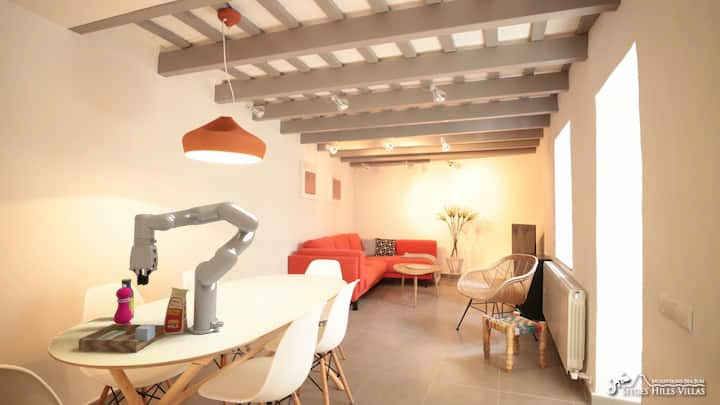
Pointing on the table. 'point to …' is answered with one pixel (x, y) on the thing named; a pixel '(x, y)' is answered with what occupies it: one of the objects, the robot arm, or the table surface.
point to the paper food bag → (176, 313)
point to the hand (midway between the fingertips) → (142, 284)
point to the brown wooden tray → (117, 339)
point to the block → (145, 332)
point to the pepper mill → (123, 306)
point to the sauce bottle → (131, 302)
